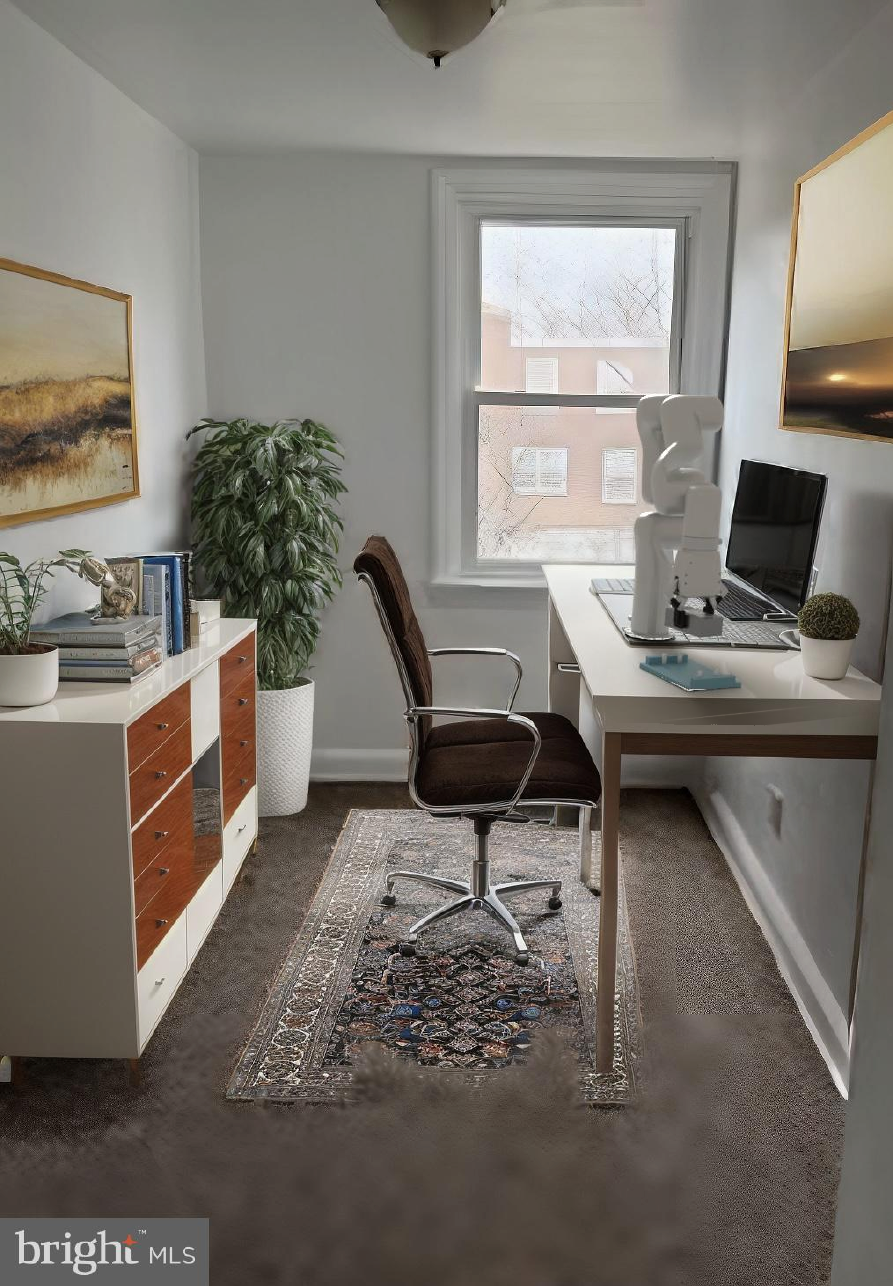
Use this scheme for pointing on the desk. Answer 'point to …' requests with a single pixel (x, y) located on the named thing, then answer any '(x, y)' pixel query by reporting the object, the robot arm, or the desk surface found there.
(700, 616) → the block
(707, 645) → the desk surface
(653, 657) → the blue pegged tray
